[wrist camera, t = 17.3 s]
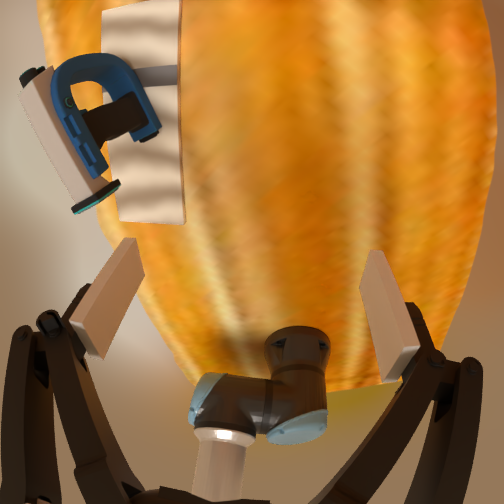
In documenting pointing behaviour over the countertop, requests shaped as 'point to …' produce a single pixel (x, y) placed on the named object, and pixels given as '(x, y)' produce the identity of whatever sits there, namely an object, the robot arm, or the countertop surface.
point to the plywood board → (163, 102)
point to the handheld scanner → (86, 120)
